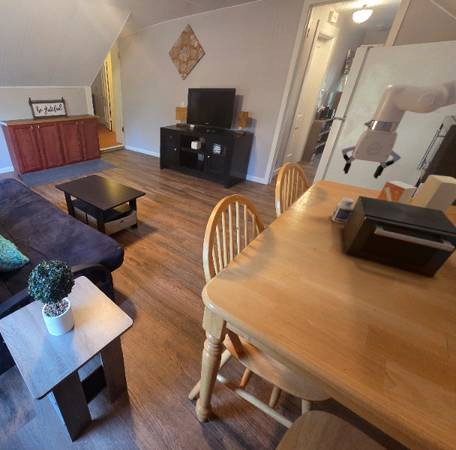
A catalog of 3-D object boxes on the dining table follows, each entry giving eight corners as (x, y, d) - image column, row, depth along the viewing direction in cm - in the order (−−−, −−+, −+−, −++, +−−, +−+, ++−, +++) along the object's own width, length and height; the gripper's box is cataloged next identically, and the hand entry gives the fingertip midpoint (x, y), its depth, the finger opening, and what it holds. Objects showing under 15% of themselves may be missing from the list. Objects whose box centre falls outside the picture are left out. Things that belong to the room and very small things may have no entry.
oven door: (436, 287, 71) (472, 247, 63) (346, 261, 80) (367, 224, 72) (430, 274, 75) (462, 235, 67) (345, 251, 84) (364, 215, 76)
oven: (429, 274, 75) (462, 234, 67) (345, 251, 85) (364, 214, 77) (415, 247, 87) (441, 210, 79) (342, 230, 96) (359, 195, 88)
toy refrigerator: (431, 235, 93) (469, 184, 82) (408, 232, 95) (441, 182, 84) (420, 225, 100) (453, 176, 89) (398, 222, 102) (428, 174, 91)
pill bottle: (349, 223, 101) (360, 202, 96) (337, 224, 100) (348, 203, 95) (339, 216, 105) (348, 196, 100) (328, 217, 105) (337, 197, 99)
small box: (371, 207, 113) (386, 181, 106) (383, 206, 114) (398, 180, 107) (388, 216, 106) (405, 188, 99) (401, 214, 107) (418, 187, 100)
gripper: (353, 125, 84) (333, 173, 93) (419, 131, 76) (391, 182, 86) (351, 122, 89) (332, 168, 98) (413, 127, 82) (387, 176, 91)
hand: (360, 174), depth 92 cm, fingers open, 8 cm apart
